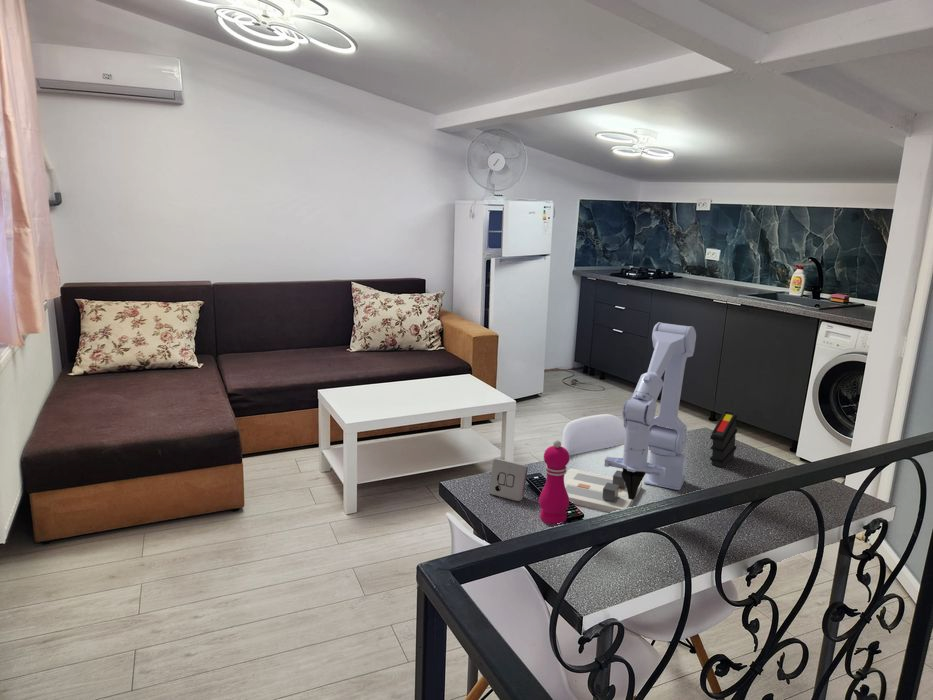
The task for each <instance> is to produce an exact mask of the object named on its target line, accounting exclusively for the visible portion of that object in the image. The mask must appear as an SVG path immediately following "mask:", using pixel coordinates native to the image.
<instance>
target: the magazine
mask: <svg viewBox="0 0 933 700" xmlns="http://www.w3.org/2000/svg"><path fill="white" fill-rule="evenodd" d="M737 418H738V414H736V412H735V411H730V410H724V411H723V413H722V415H721V416H720V418H719V420H718V421H717V423H716V425H715V427H714V429H713V431H712V432H711V435H710V436H709V437H710V440H712V445H711V447H710V450H711V451H712V455H711V457H709V460H710V461H711V465H712V466H716V467H719V468H722V467H724V466H725V465H726V464H727V463H728V462H730V460H732V459H733V458H734V457H735V456H734V455H735V451H736V450H737V445H736V434H737V433H738V428H737V427H736V422H737V421H736V420H737Z"/></svg>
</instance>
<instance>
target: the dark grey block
mask: <svg viewBox="0 0 933 700" xmlns="http://www.w3.org/2000/svg"><path fill="white" fill-rule="evenodd" d="M622 471H623V470H618V469H617V470H616V471H615V472H614V474H613V475H612V477H613V484H617V485H619V487H622V488H624V487H625V485H626V484H625V482H624V479H623V478H622Z"/></svg>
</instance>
